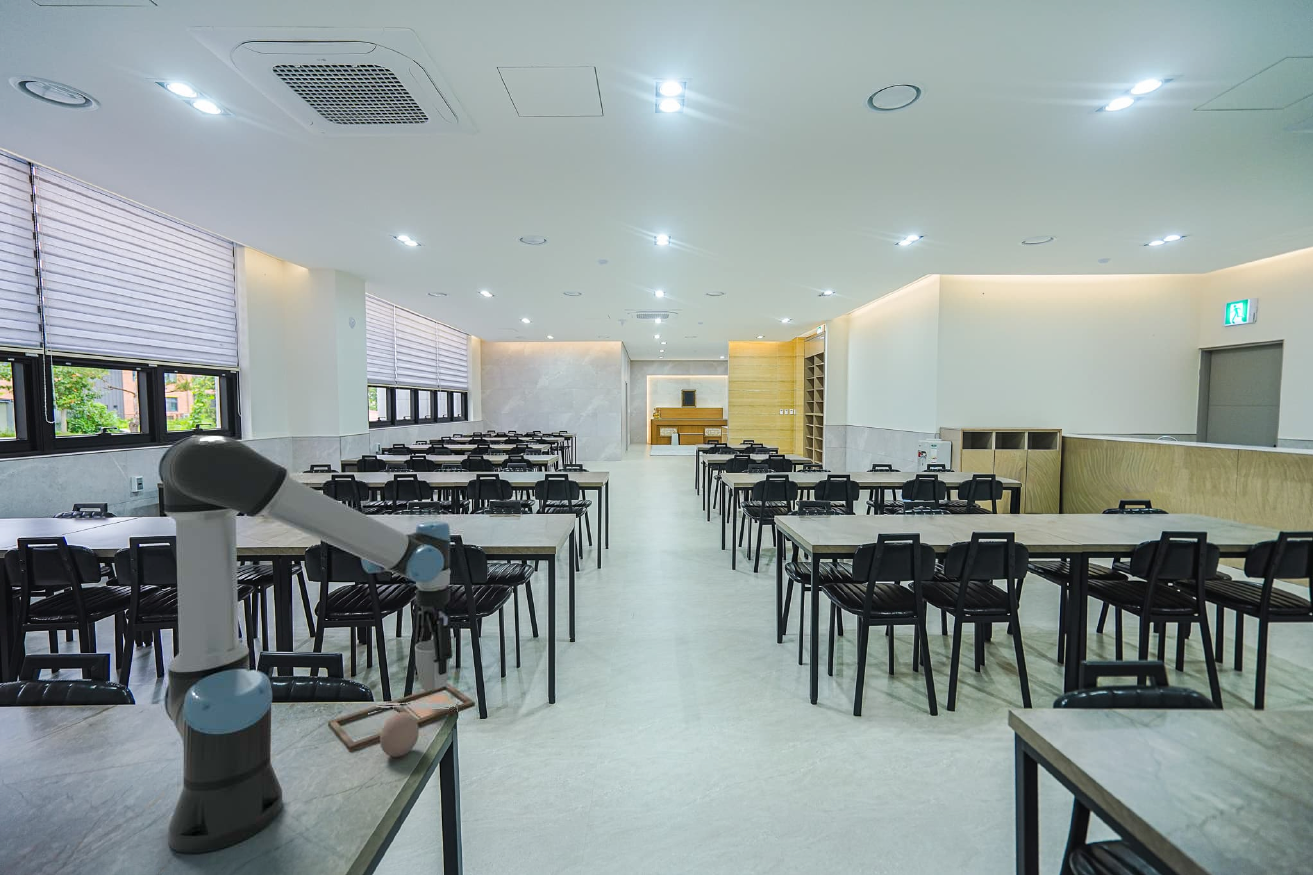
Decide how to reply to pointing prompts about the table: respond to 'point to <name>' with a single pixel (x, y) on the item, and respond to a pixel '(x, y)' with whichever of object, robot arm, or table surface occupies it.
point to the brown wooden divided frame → (369, 740)
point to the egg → (399, 734)
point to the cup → (426, 664)
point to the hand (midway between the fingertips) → (432, 681)
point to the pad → (426, 712)
